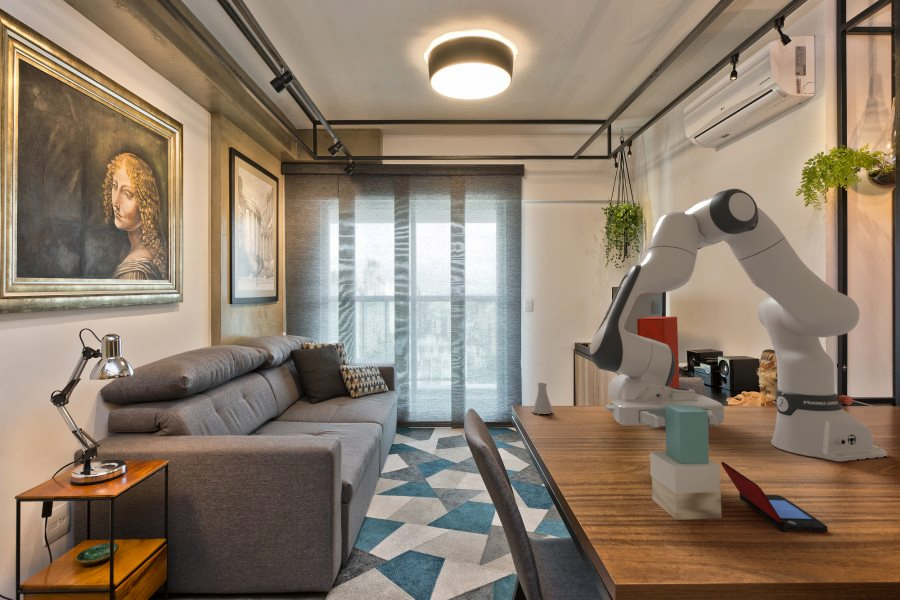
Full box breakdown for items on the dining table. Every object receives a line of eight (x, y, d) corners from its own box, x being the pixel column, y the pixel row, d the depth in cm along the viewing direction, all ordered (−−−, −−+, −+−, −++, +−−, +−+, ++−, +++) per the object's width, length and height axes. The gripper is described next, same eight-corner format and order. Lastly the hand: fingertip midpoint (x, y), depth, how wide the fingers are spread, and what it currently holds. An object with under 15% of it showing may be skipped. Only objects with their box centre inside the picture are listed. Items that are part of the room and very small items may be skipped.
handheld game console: (832, 535, 70) (830, 488, 70) (759, 533, 71) (758, 486, 71) (781, 500, 82) (780, 460, 83) (719, 498, 84) (719, 459, 84)
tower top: (691, 473, 84) (690, 450, 84) (720, 491, 76) (719, 465, 76) (650, 475, 84) (650, 451, 84) (675, 493, 76) (675, 467, 76)
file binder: (638, 422, 135) (636, 318, 136) (653, 411, 149) (651, 316, 149) (667, 427, 130) (665, 318, 131) (680, 415, 144) (678, 316, 144)
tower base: (693, 498, 84) (693, 474, 84) (721, 518, 76) (720, 492, 76) (652, 499, 83) (651, 475, 83) (675, 520, 75) (675, 494, 75)
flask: (553, 416, 145) (553, 385, 145) (531, 415, 147) (530, 385, 147) (553, 410, 152) (552, 381, 152) (531, 410, 154) (531, 381, 154)
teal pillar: (693, 453, 82) (692, 405, 82) (708, 463, 77) (708, 411, 77) (666, 454, 82) (665, 405, 82) (680, 463, 77) (679, 411, 77)
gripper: (601, 390, 93) (629, 405, 79) (698, 388, 93) (742, 403, 79) (602, 420, 93) (629, 440, 79) (699, 418, 93) (743, 438, 79)
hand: (687, 422), depth 79 cm, fingers open, 8 cm apart
